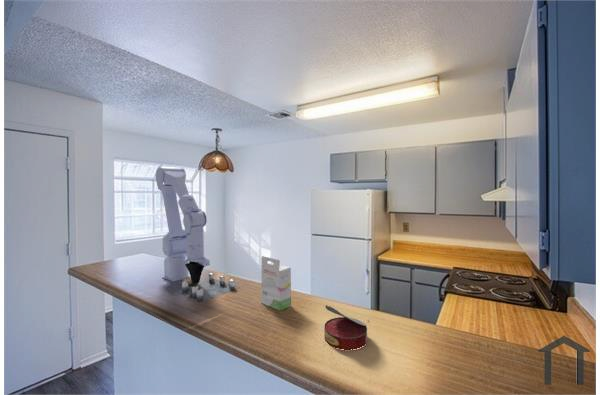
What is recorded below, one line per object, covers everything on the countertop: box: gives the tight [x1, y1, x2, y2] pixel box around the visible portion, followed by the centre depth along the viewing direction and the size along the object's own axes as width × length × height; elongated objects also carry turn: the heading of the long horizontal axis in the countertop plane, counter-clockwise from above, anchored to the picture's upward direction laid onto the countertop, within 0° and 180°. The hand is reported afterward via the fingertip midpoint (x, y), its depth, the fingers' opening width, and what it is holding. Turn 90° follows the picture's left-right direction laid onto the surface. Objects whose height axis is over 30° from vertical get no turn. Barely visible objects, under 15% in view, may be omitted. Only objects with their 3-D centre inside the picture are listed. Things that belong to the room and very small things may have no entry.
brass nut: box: [182, 277, 195, 286], centre depth 104 cm, size 5×5×2 cm
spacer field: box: [174, 272, 241, 303], centre depth 98 cm, size 15×16×4 cm
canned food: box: [323, 304, 368, 351], centre depth 67 cm, size 11×10×10 cm
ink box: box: [260, 255, 292, 312], centre depth 86 cm, size 9×5×15 cm, turn 47°
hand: (195, 282), depth 102 cm, fingers closed
